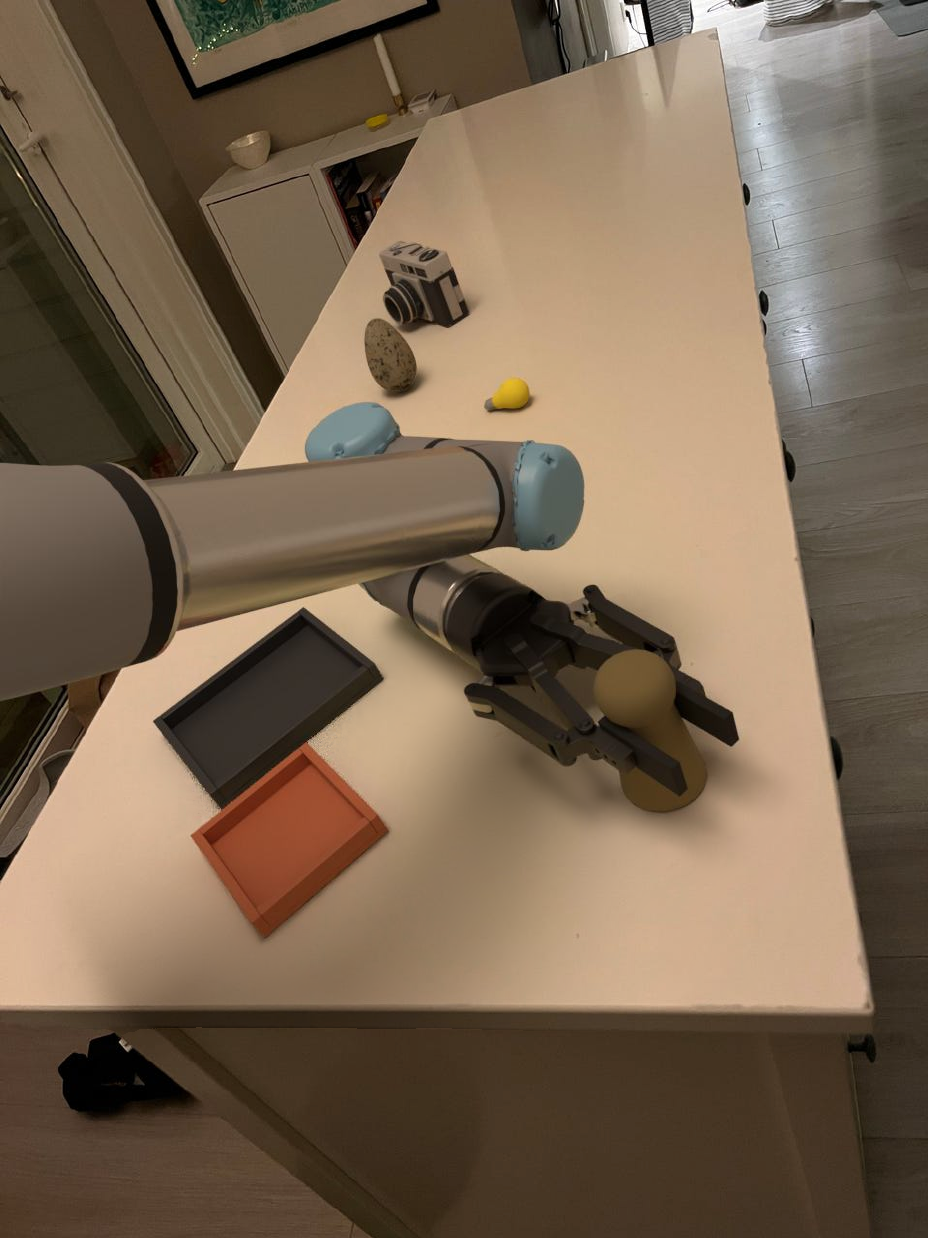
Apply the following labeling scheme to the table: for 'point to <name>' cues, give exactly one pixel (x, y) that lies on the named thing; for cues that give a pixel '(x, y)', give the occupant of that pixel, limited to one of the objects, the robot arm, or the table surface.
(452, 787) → the table surface
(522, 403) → the light bulb
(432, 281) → the camera
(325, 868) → the terracotta tray
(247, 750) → the charcoal tray
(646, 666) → the cork
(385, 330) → the decorative egg
